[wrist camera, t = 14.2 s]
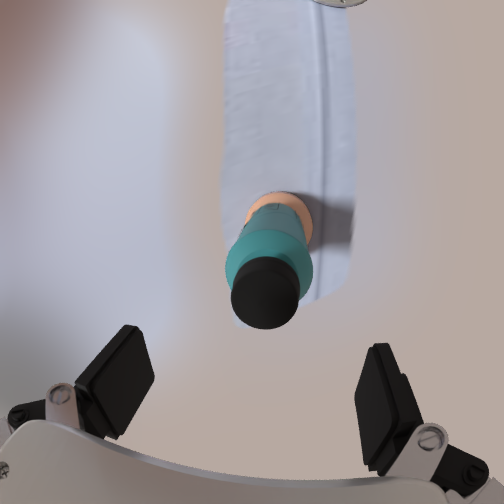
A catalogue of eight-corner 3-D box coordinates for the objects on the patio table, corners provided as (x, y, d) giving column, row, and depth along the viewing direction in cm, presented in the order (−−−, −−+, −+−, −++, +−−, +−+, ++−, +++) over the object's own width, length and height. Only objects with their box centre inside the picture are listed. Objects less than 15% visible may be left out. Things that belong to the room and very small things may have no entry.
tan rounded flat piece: (284, 178, 35) (283, 179, 32) (323, 227, 36) (326, 233, 34) (235, 217, 38) (231, 222, 35) (275, 264, 39) (273, 272, 36)
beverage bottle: (253, 195, 33) (207, 236, 14) (308, 204, 33) (334, 257, 14) (246, 246, 35) (200, 338, 16) (298, 255, 35) (307, 357, 16)
